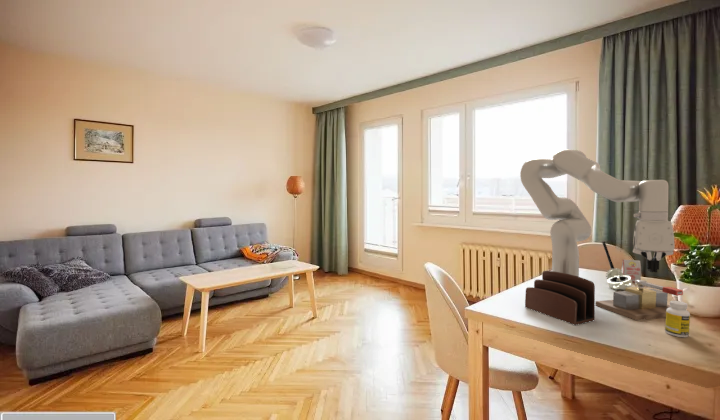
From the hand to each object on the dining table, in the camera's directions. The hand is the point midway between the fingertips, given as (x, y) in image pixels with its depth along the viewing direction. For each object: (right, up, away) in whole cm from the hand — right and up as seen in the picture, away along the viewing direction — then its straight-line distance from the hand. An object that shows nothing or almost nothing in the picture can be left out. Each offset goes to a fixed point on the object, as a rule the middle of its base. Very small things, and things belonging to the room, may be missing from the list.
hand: (652, 271), depth 120 cm
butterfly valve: (+17, -14, +40) cm, 46 cm away
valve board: (+3, -16, +10) cm, 19 cm away
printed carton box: (+31, -13, +50) cm, 60 cm away
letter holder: (-28, -17, +7) cm, 33 cm away
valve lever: (+4, -7, +4) cm, 9 cm away
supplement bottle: (-2, -17, -12) cm, 21 cm away
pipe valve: (+3, -14, +10) cm, 17 cm away
